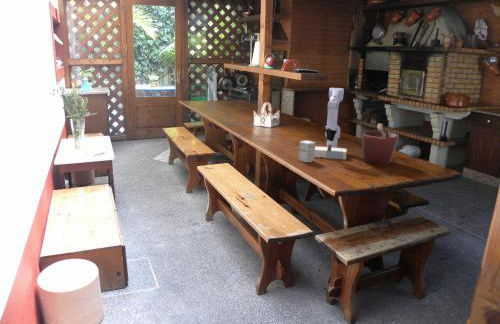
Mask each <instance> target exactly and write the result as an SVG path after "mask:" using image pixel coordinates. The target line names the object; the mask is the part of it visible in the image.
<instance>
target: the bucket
mask: <svg viewBox="0 0 500 324" xmlns="http://www.w3.org/2000/svg"><path fill="white" fill-rule="evenodd" d="M383 125H384V124H383V123H378V124H377V130H367V131H362V132H361V137H360V138H361V146H362V157H363V162H365V164H368V165H371V166H372V165H373V166H378V167H379V166H382V167H384V166H387V167H388V166H389V165H390V164H391V162H392V161H393V156H394V153H395V150H396V147H397V146H398V145H397V144H398V141H399V138H400V137H399V136H400V134H397V133H394V132H391V131H385V130H384V128H383Z"/></svg>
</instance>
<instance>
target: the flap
mask: <svg viewBox="0 0 500 324" xmlns="http://www.w3.org/2000/svg"><path fill="white" fill-rule="evenodd" d="M331 146H332V145H331V144H328V149H327V152H326V158H325V159H335V160H343V159H342V157H343V151H331Z"/></svg>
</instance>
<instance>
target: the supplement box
mask: <svg viewBox="0 0 500 324" xmlns="http://www.w3.org/2000/svg"><path fill="white" fill-rule="evenodd" d="M315 146H316V142H315V141H311V140H306V139H305V140H301V141H299V148H298V149H299V150H298V151H299V152H298V161H299V160H300V162H303V163H306V162H309V163H312V161H313V162H315V157H314V155H315Z"/></svg>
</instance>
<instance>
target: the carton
mask: <svg viewBox="0 0 500 324" xmlns="http://www.w3.org/2000/svg"><path fill="white" fill-rule="evenodd" d="M327 149H328V147H327V146H316V145H315V155H314V158H320V157H323V158H322V159H327V158H326V152H327ZM347 150H348V149H347V148H342V147H337V148H331V151H343V157H342V159H341V160H347V154H348V153H347Z"/></svg>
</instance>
